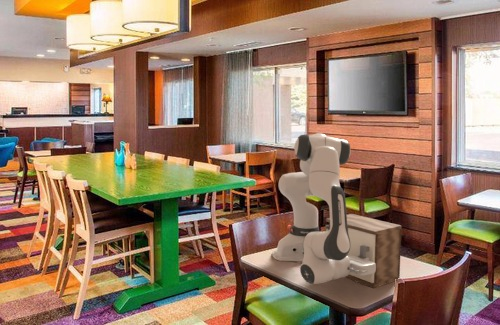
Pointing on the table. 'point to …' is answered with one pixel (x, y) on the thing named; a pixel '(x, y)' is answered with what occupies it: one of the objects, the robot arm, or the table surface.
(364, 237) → the sliding door
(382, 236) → the cabinet
